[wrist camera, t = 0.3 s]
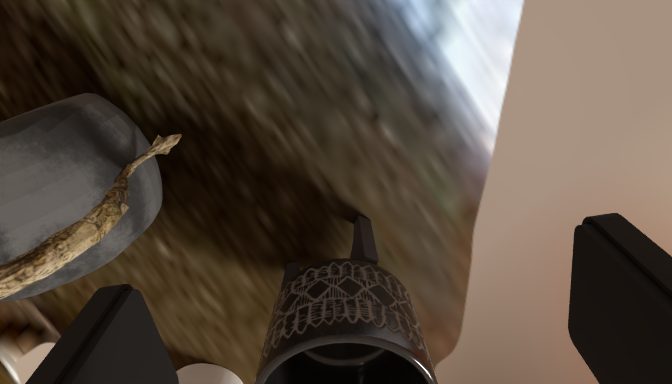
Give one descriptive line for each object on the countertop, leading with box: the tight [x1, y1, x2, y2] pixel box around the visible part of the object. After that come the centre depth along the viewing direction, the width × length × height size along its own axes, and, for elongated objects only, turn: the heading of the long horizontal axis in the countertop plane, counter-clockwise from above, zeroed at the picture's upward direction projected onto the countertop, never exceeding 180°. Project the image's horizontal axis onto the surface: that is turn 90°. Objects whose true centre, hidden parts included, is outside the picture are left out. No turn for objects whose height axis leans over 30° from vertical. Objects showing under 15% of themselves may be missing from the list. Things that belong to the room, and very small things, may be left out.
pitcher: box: [0, 93, 182, 302], centre depth 27 cm, size 11×19×30 cm, turn 110°
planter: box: [254, 216, 438, 384], centre depth 38 cm, size 13×13×18 cm
